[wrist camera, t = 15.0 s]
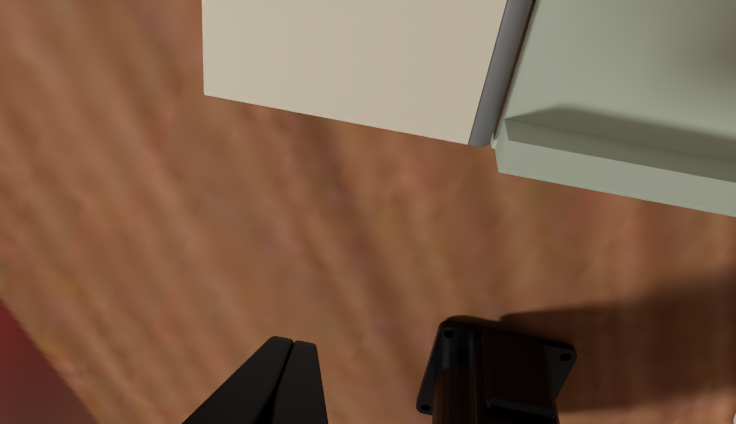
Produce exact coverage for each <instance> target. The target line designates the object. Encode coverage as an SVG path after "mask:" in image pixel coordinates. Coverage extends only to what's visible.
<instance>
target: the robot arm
mask: <svg viewBox="0 0 736 424" xmlns="http://www.w3.org/2000/svg"><path fill="white" fill-rule="evenodd" d="M447 330H451V331H452V332H447ZM564 353H567V354H566V355H562V354H564ZM576 358H577V355H576V351H575V348H574V347H573V346H572V345H570V344H567V343H562V342H557V341H552V340H547V339H542V338H537V337H532V336H527V335H522V334H517V333H511V332H506V331H501V330H496V329H491V328H486V327H481V326H476V325H471V324H466V323H461V322H456V321H444V322H442V323H441V324H440V325H439V328H438V331H437V334H436V337H435V341H434V344H433V347H432V351H431V354H430V357H429V361H428V364H427V367H426V371H425V374H424V377H423V380H422V384H421V387H420V390H419V394H418V397H417V403H416V409H417V410H418V411H419V412H420V413H423V414H428V415H432V424H560V422H559V417H558V412H557V407H556V402H555V399H556V397H557V395H558V393H559V391H560V390H561V388H562V386H563V384H564V382H565V380H566V378H567V376H568V374H569V372H570V370H571V368H572V367H573V365H574V363H575V361H576ZM182 424H328V419H327V412H326V405H325V399H324V392H323V386H322V379H321V373H320V366H319V359H318V353H317V347H316V345H315V344H313V343H308V342H303V341H295V342H293V340H291V339H288V338H283V337H278V336H273V337H271V338H269V339H268V340H267V341H266V342H265V343H264V344H263V345H262V346H261V347H260V348H259V349H258V350H257V351H256V352H255V353H254V354H253V355H252V356H251V357H250V358H249V359H248V360H247V361H246V362H245V363H244V364H243V365H242V366H241V367H240V368H238V369H237V370H236V371H235V372H234V373H233V374H232V375H231V376H230V377H229V378H228V379H227V380H226V381H225V382H224V383H223V384H222V385H221V386H220V387H219V388H218V389H217V390H216V391H215V392H214V393H213V394H212V395H211V396H210V397H209V398H208V399H207V400H206V401H205V402H204V403H202V404H201V405H200V406H199V407H198V408H197V409H196V410H195V411H194V412H193V413H192V414H191V415H190V416H189V417H188V418H187V419H186V420H185V421H184V422H183V423H182Z"/></svg>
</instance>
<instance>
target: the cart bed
mask: <svg viewBox="0 0 736 424" xmlns="http://www.w3.org/2000/svg"><path fill="white" fill-rule="evenodd" d="M491 148H493V149H495V153H496V160H497V166H498V172H500V173H505V174H510V175H516V176H521V177H526V178H532V179H537V180H542V181H547V182H553V183H558V184H563V185H569V186H574V187H579V188H585V189H590V190H595V191H600V192H606V193H611V194H616V195H622V196H627V197H632V198H638V199H643V200H648V201H653V202H659V203H664V204H669V205H675V206H680V207H685V208H691V209H696V210H701V211H706V212H712V213H717V214H722V215H728V216H733V217H736V0H532V3H531V7H530V10H529V13H528V17H527V20H526V23H525V27H524V30H523V34H522V37H521V40H520V44H519V47H518V50H517V54H516V57H515V60H514V64H513V67H512V71H511V74H510V77H509V81H508V84H507V87H506V91H505V94H504V97H503V101H502V104H501V108H500V111H499V114H498V118H497V121H496V124H495V128H494V131H493V134H492V138H491Z"/></svg>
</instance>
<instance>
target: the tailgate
mask: <svg viewBox="0 0 736 424" xmlns="http://www.w3.org/2000/svg"><path fill="white" fill-rule="evenodd" d="M531 3H532V0H202V28H203V71H204V95H208V96H214V97H219V98H224V99H229V100H235V101H240V102H245V103H251V104H256V105H261V106H266V107H272V108H277V109H282V110H288V111H293V112H298V113H303V114H309V115H314V116H319V117H325V118H330V119H335V120H340V121H346V122H351V123H356V124H362V125H367V126H372V127H377V128H383V129H388V130H393V131H398V132H404V133H409V134H414V135H420V136H425V137H430V138H435V139H441V140H446V141H451V142H457V143H462V144H467V145H468V144H469V145H473V146H487V145H489V144H490V141H491V138H492V134H493V131H494V128H495V124H496V121H497V118H498V114H499V111H500V108H501V104H502V101H503V97H504V94H505V91H506V87H507V84H508V81H509V77H510V74H511V71H512V67H513V64H514V60H515V57H516V54H517V50H518V47H519V44H520V40H521V37H522V34H523V30H524V27H525V23H526V20H527V17H528V13H529V10H530V7H531Z"/></svg>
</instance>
